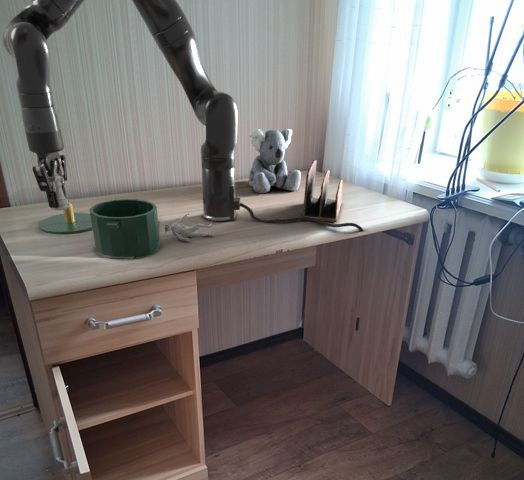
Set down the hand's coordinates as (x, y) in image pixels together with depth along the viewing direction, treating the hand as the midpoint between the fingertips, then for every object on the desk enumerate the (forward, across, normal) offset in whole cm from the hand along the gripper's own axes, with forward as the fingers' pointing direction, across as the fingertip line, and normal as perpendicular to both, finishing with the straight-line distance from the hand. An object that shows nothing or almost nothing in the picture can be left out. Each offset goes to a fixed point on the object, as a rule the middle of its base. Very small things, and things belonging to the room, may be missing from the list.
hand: (58, 204), depth 123 cm
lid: (+10, +15, +4) cm, 18 cm away
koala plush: (+12, +63, -50) cm, 81 cm away
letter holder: (+12, +35, -67) cm, 76 cm away
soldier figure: (+11, +9, -30) cm, 33 cm away
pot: (+11, 0, -16) cm, 19 cm away
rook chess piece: (+1, 0, 0) cm, 1 cm away
